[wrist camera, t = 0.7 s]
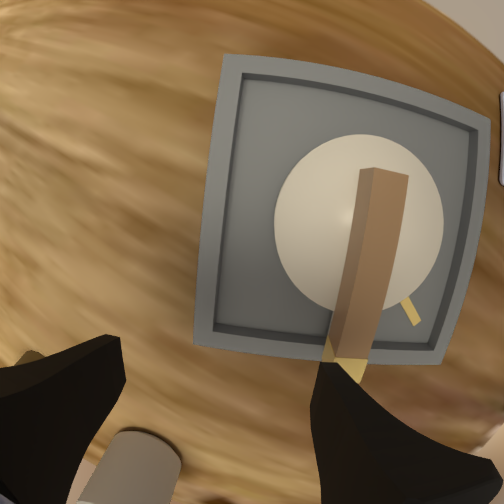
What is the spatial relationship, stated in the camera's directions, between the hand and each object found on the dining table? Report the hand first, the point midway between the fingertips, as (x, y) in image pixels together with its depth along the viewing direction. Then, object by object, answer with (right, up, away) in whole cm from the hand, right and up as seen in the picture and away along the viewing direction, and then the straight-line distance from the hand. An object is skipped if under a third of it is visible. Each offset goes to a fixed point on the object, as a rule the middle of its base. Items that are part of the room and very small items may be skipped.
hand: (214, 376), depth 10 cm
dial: (+7, +5, +8) cm, 12 cm away
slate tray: (+8, +6, +9) cm, 13 cm away
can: (-9, -16, +15) cm, 24 cm away
